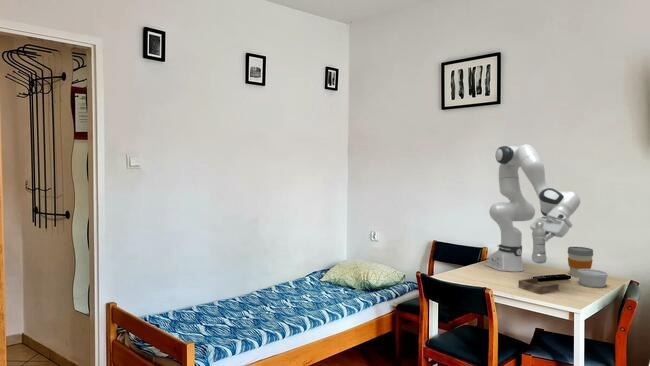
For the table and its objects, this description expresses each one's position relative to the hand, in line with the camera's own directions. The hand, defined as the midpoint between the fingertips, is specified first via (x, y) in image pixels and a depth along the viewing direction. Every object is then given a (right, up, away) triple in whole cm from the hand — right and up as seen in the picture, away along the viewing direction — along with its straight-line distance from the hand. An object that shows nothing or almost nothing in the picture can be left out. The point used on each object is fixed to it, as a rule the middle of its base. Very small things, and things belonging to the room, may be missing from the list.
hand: (539, 239), depth 229 cm
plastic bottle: (0, -12, 0) cm, 12 cm away
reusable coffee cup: (+35, -24, +28) cm, 51 cm away
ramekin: (+32, -25, +10) cm, 42 cm away
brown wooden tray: (+1, -25, +2) cm, 25 cm away
